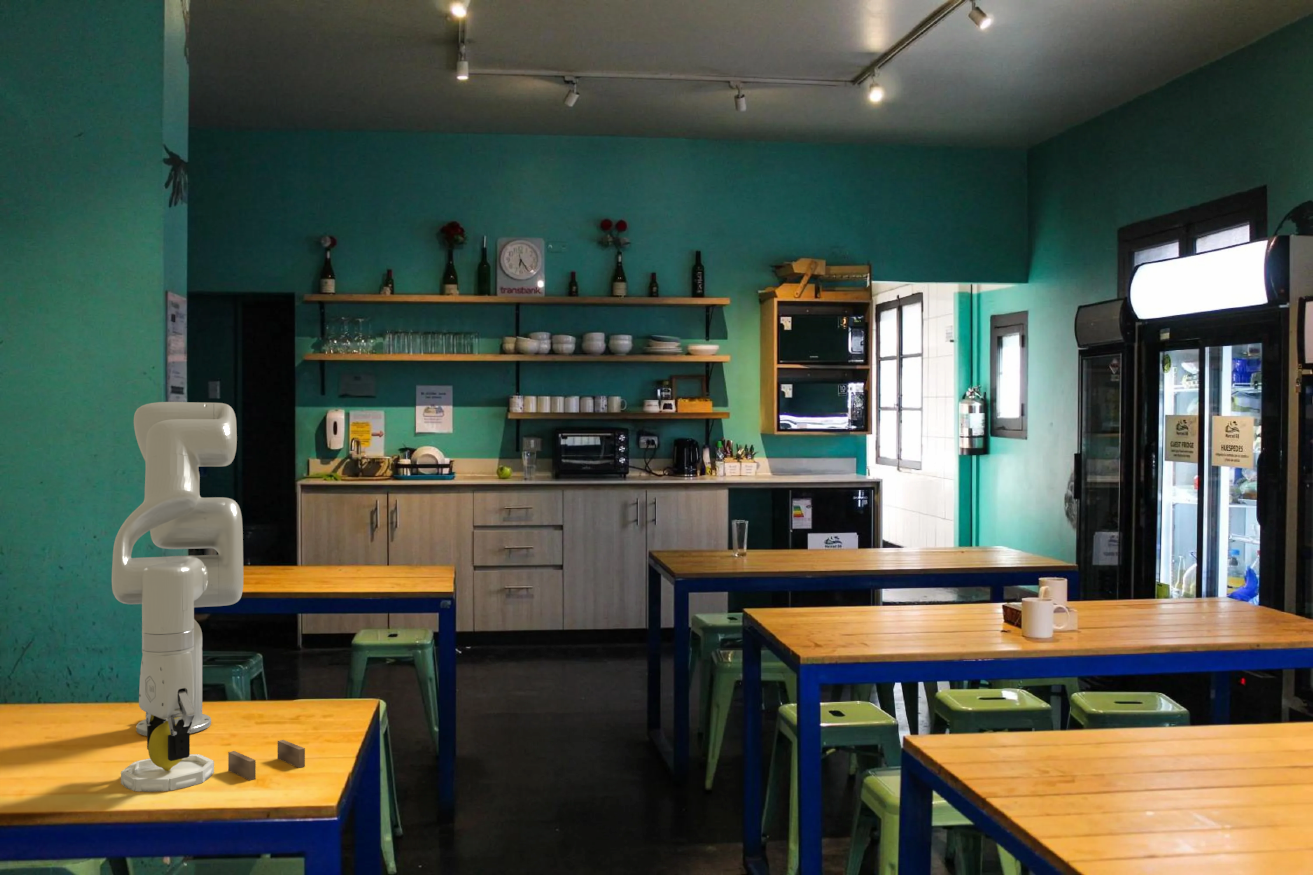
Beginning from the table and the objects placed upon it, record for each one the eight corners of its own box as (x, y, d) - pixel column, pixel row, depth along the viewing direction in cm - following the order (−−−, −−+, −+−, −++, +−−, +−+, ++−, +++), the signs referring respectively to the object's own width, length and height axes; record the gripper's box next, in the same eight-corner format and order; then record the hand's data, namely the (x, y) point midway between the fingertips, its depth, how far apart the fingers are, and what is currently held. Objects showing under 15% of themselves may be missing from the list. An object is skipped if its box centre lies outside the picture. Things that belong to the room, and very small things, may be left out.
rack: (228, 770, 178) (228, 752, 178) (283, 757, 185) (283, 739, 185) (249, 780, 173) (249, 761, 173) (304, 766, 180) (304, 748, 180)
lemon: (172, 777, 171) (172, 726, 171) (140, 774, 172) (140, 724, 172) (193, 766, 177) (193, 717, 177) (163, 763, 178) (163, 714, 178)
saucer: (109, 778, 174) (108, 766, 174) (189, 759, 184) (190, 748, 184) (143, 797, 165) (143, 785, 165) (227, 777, 175) (227, 765, 175)
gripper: (121, 637, 177) (121, 747, 177) (168, 653, 165) (168, 771, 166) (167, 630, 183) (167, 737, 183) (216, 646, 171) (216, 760, 171)
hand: (168, 752), depth 174 cm, fingers open, 6 cm apart
